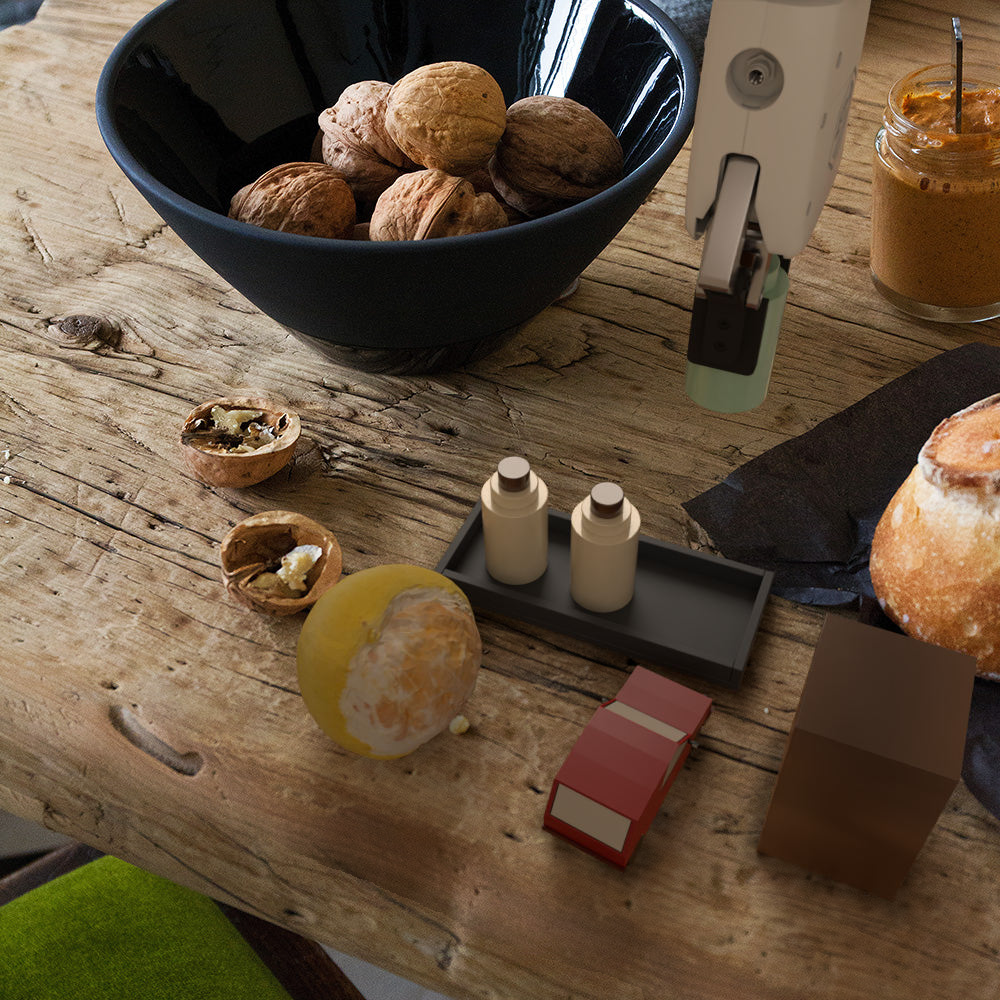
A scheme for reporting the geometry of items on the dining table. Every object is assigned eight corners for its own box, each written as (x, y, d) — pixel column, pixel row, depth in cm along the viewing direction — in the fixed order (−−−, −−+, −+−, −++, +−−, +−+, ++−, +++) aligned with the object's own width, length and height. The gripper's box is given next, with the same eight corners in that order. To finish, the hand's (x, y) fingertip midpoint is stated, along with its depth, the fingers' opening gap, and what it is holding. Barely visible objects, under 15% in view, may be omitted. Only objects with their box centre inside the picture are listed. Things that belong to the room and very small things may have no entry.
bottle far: (557, 548, 69) (558, 454, 63) (533, 593, 66) (532, 499, 60) (500, 531, 70) (496, 437, 64) (474, 574, 68) (467, 480, 62)
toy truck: (717, 725, 60) (730, 675, 56) (629, 891, 53) (638, 847, 49) (627, 682, 62) (634, 631, 58) (531, 836, 55) (533, 790, 52)
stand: (912, 786, 57) (977, 656, 48) (892, 901, 52) (960, 781, 44) (785, 743, 59) (826, 612, 50) (756, 850, 54) (794, 726, 46)
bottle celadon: (776, 372, 53) (807, 221, 46) (756, 422, 50) (787, 269, 44) (696, 353, 54) (716, 204, 48) (673, 401, 51) (691, 250, 45)
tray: (770, 593, 67) (775, 572, 65) (737, 692, 61) (742, 671, 60) (486, 510, 73) (484, 489, 71) (434, 593, 68) (432, 572, 66)
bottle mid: (642, 573, 67) (652, 479, 61) (621, 620, 65) (629, 527, 59) (582, 555, 69) (586, 461, 62) (559, 601, 66) (561, 507, 60)
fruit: (281, 761, 59) (245, 658, 52) (361, 620, 66) (339, 512, 59) (445, 815, 56) (431, 713, 49) (511, 662, 63) (506, 554, 56)
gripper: (870, 15, 30) (771, 467, 43) (943, -137, 41) (846, 263, 54) (626, -15, 32) (602, 424, 45) (756, -151, 43) (706, 235, 56)
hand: (735, 333), depth 49 cm, fingers closed on bottle celadon, 4 cm apart
